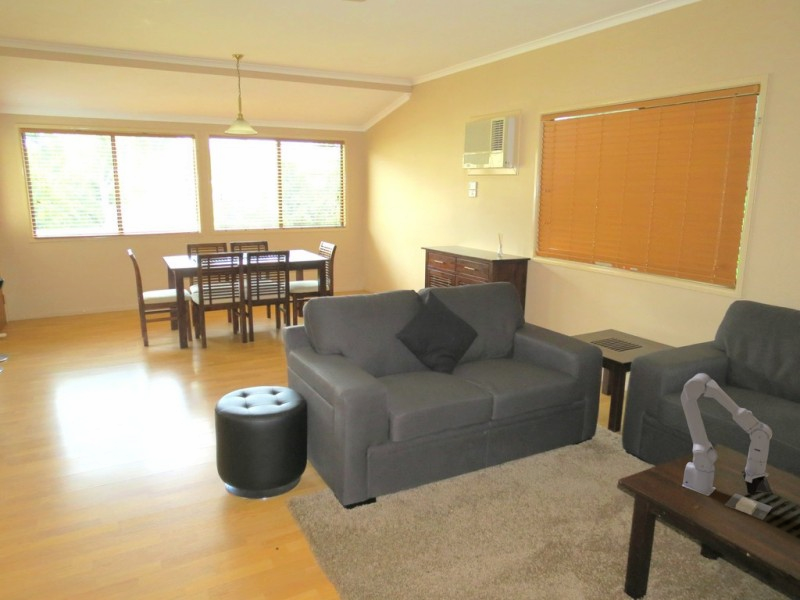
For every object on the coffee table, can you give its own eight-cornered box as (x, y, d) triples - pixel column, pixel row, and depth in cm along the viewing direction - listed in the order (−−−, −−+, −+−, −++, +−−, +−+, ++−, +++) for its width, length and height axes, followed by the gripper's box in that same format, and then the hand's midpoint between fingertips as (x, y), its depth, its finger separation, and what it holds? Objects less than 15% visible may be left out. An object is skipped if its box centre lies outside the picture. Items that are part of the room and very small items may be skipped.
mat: (724, 506, 200) (724, 505, 200) (735, 494, 208) (735, 493, 208) (762, 520, 191) (762, 519, 191) (772, 507, 200) (772, 506, 200)
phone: (748, 488, 211) (741, 470, 224) (747, 491, 211) (740, 473, 224) (772, 493, 208) (764, 475, 221) (772, 496, 208) (763, 477, 222)
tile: (741, 502, 202) (735, 509, 197) (742, 497, 202) (736, 504, 197) (757, 507, 199) (751, 515, 194) (758, 502, 198) (752, 510, 193)
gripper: (764, 469, 189) (757, 505, 192) (776, 456, 199) (770, 491, 201) (740, 461, 194) (735, 497, 197) (753, 449, 204) (748, 483, 207)
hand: (751, 493), depth 199 cm, fingers closed
